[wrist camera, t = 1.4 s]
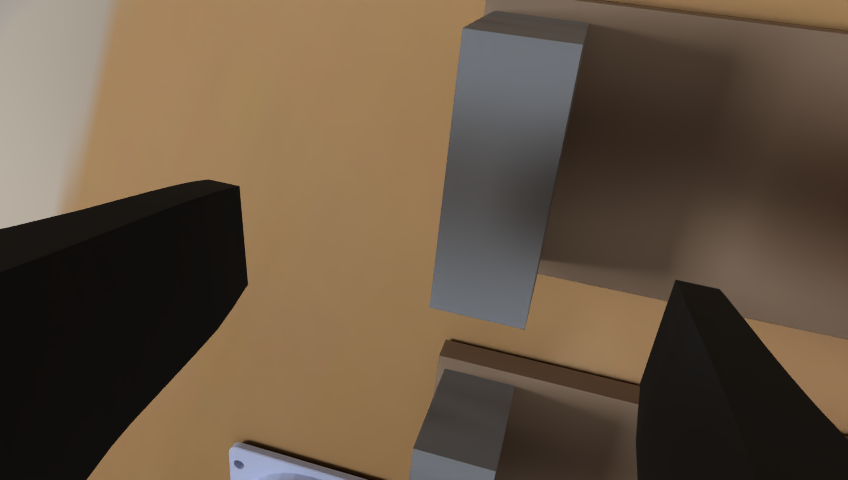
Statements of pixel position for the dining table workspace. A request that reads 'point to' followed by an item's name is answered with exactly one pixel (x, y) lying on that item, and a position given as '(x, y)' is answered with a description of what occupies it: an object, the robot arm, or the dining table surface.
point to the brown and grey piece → (647, 161)
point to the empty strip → (524, 421)
